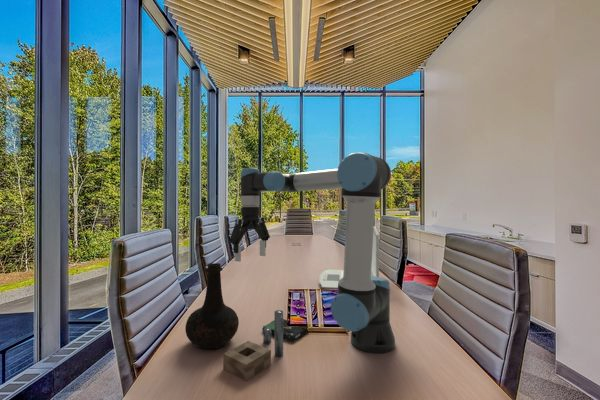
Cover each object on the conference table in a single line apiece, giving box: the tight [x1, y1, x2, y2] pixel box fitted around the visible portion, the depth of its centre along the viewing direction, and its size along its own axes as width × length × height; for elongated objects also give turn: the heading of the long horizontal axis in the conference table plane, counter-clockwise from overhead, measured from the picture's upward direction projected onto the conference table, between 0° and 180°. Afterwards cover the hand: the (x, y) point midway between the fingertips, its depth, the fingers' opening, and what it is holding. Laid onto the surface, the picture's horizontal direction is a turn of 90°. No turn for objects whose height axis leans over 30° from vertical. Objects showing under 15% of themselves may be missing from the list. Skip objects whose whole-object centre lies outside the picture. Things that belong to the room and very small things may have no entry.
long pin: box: [274, 309, 284, 358], centre depth 96 cm, size 3×3×14 cm
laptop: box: [318, 225, 380, 290], centre depth 181 cm, size 42×33×35 cm
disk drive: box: [262, 318, 309, 343], centre depth 113 cm, size 10×3×15 cm
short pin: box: [262, 328, 272, 345], centre depth 105 cm, size 3×3×4 cm
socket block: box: [222, 340, 272, 382], centre depth 89 cm, size 10×10×4 cm
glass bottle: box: [184, 262, 240, 350], centre depth 104 cm, size 18×18×28 cm
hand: (250, 258), depth 121 cm, fingers open, 13 cm apart
